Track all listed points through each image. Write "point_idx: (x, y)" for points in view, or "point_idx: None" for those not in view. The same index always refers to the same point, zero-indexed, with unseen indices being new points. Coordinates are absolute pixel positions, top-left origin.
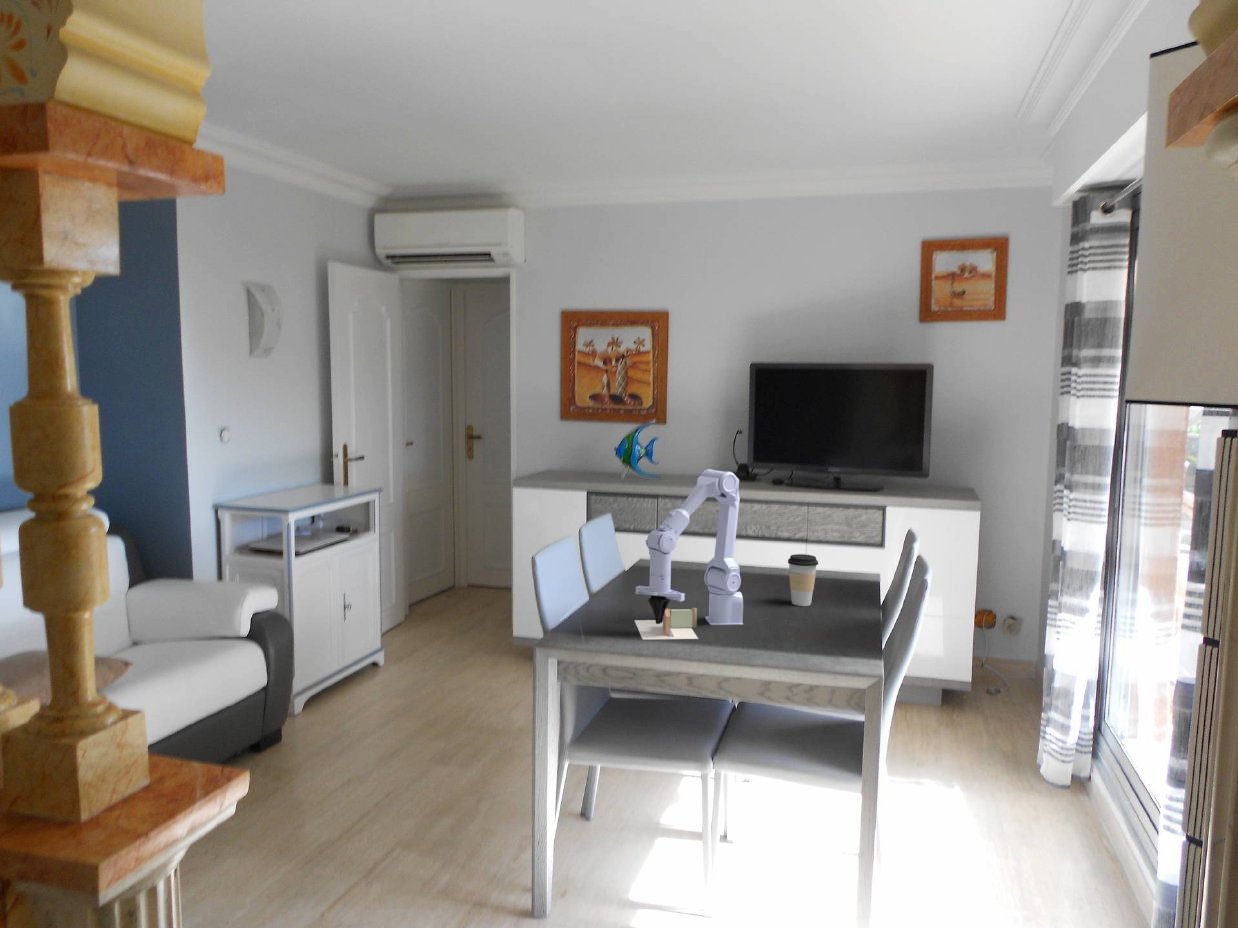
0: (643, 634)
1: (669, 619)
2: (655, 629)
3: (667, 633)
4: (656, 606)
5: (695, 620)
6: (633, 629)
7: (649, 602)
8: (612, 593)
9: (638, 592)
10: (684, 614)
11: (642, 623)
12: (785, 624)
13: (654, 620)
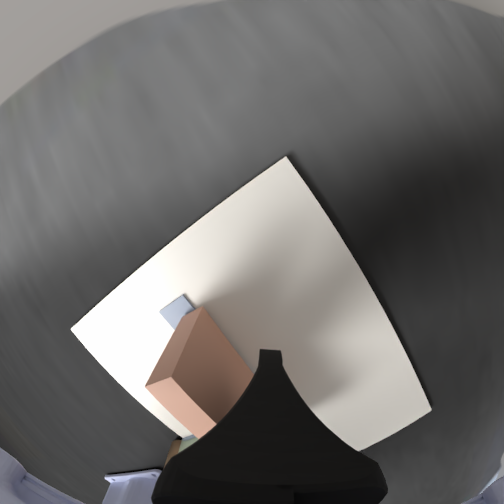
0: (331, 257)
1: (157, 369)
2: (310, 370)
3: (192, 312)
4: (258, 437)
5: (165, 463)
6: (414, 323)
7: (362, 456)
8: (477, 481)
9: (500, 491)
10: None
11: (395, 402)
12: (67, 478)
13: (359, 447)
